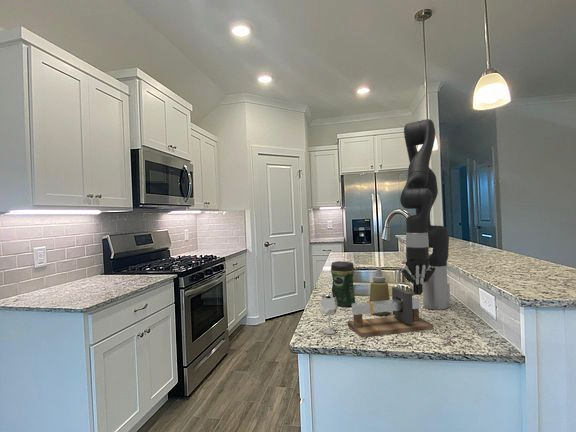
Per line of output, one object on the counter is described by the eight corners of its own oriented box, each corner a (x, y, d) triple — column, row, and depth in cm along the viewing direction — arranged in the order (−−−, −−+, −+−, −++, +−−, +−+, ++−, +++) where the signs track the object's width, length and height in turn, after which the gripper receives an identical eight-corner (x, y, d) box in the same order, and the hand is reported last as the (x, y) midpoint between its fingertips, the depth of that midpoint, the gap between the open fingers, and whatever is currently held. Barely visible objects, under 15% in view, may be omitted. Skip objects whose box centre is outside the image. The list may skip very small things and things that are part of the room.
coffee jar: (358, 303, 150) (356, 260, 149) (349, 308, 143) (347, 263, 143) (338, 300, 156) (337, 259, 155) (329, 304, 149) (327, 262, 149)
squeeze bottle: (376, 308, 141) (375, 265, 141) (394, 312, 136) (393, 267, 135) (365, 313, 136) (364, 268, 135) (383, 318, 130) (382, 270, 129)
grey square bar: (414, 306, 124) (414, 296, 124) (420, 309, 121) (420, 299, 120) (351, 312, 119) (351, 302, 119) (355, 315, 116) (355, 305, 116)
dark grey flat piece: (397, 314, 126) (396, 286, 126) (412, 322, 116) (412, 293, 116) (392, 314, 126) (391, 287, 126) (407, 323, 116) (406, 293, 116)
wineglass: (334, 335, 114) (332, 299, 114) (318, 332, 117) (317, 297, 117) (340, 330, 119) (340, 295, 118) (325, 327, 122) (324, 293, 122)
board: (413, 318, 129) (413, 302, 129) (433, 329, 117) (433, 311, 117) (347, 325, 123) (347, 308, 123) (361, 337, 112) (360, 319, 112)
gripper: (427, 243, 127) (428, 290, 127) (394, 245, 124) (395, 293, 125) (440, 245, 119) (441, 295, 120) (405, 247, 117) (406, 298, 117)
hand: (418, 294), depth 122 cm, fingers closed
